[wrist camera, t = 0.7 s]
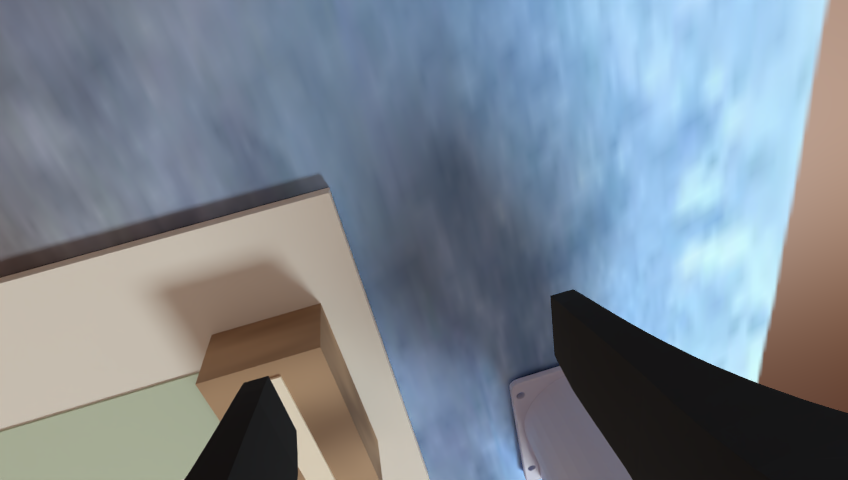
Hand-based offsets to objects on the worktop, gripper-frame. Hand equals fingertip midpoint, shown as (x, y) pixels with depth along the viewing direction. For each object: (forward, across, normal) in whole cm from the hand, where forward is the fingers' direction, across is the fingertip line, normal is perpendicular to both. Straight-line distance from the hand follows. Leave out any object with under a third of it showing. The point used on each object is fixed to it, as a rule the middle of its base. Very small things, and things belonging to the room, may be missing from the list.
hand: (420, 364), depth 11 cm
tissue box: (+9, +6, +8) cm, 14 cm away
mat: (+10, +12, +9) cm, 17 cm away
